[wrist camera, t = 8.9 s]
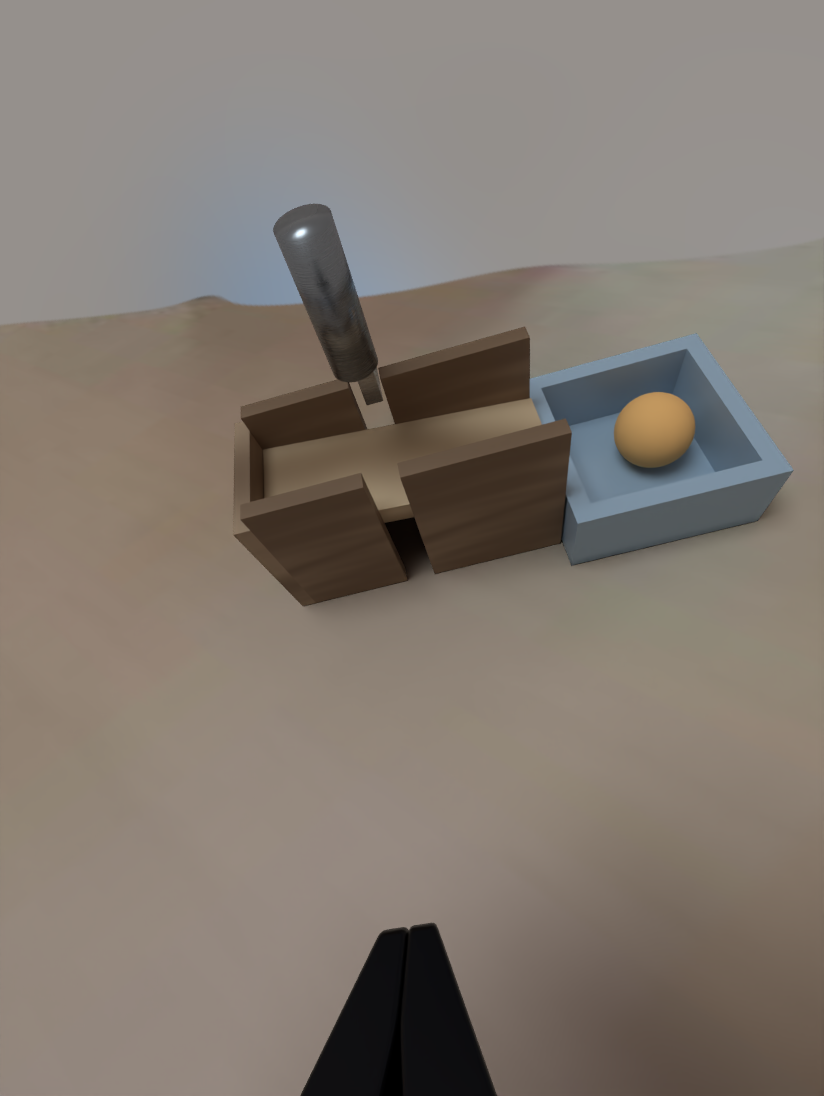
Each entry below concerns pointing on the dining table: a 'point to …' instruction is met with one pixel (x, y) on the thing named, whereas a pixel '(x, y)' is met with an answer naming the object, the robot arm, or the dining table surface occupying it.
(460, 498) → the ramp frame
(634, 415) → the ball
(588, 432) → the blue square tray
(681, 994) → the dining table surface
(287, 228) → the gate
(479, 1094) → the robot arm
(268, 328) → the dining table surface
